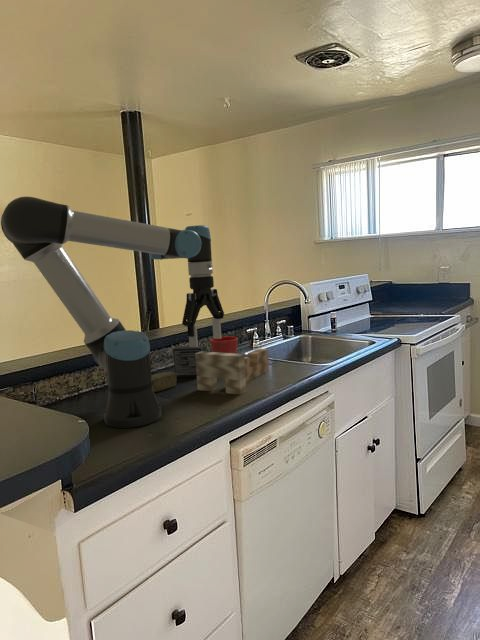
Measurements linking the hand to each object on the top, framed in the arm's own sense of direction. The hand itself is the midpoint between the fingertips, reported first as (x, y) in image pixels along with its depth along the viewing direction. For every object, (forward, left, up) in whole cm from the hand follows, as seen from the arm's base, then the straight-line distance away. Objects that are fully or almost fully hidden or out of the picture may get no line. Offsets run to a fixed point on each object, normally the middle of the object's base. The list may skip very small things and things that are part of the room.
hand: (206, 342), depth 155 cm
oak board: (+17, -6, -15) cm, 24 cm away
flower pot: (+35, +15, -16) cm, 41 cm away
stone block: (-5, +16, -16) cm, 23 cm away
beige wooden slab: (0, -5, -15) cm, 16 cm away
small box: (+14, +17, -16) cm, 27 cm away
